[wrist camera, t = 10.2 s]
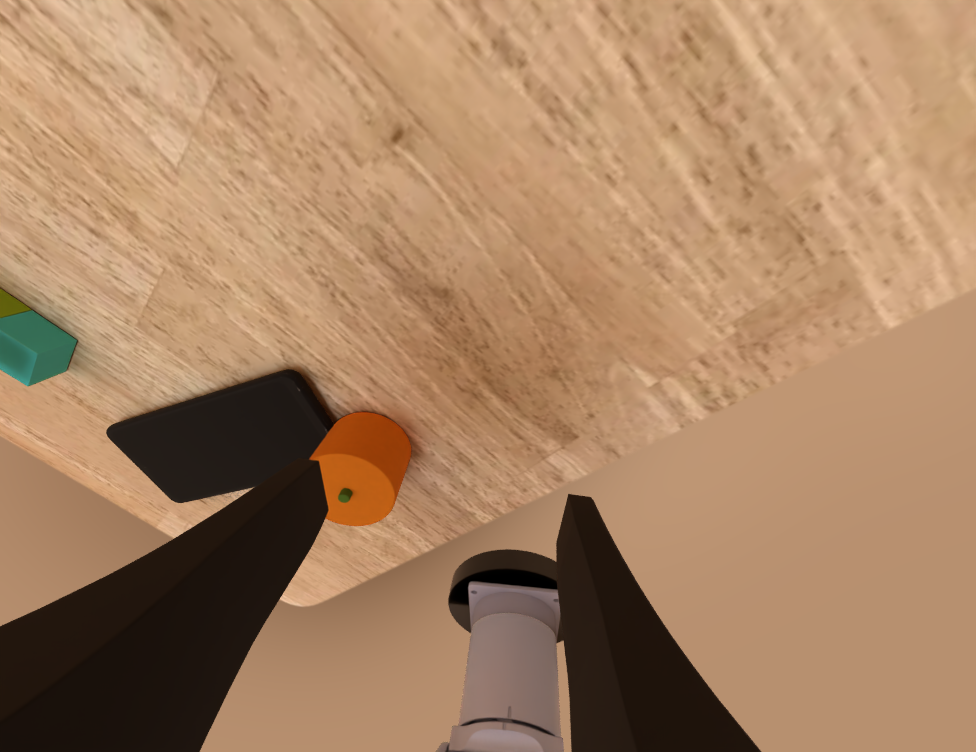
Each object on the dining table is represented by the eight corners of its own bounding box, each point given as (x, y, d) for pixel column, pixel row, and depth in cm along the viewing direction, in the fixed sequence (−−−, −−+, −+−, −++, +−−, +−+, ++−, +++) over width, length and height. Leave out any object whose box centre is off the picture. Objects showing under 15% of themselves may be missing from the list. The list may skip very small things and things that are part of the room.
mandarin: (415, 478, 23) (398, 534, 19) (338, 477, 23) (306, 532, 19) (406, 411, 21) (385, 460, 17) (321, 411, 21) (281, 459, 17)
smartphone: (353, 467, 22) (175, 506, 26) (359, 457, 23) (185, 497, 26) (289, 370, 19) (98, 430, 23) (298, 363, 20) (112, 422, 24)
